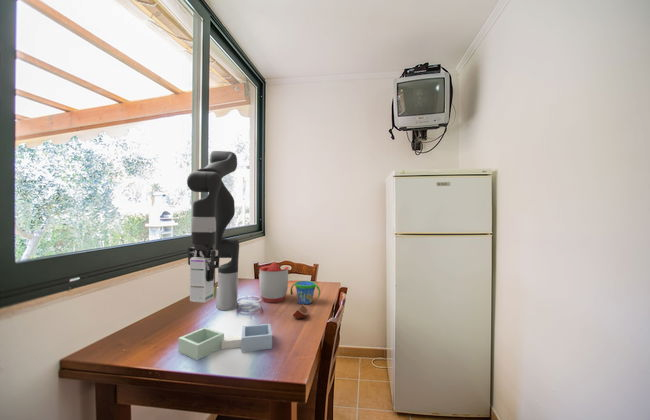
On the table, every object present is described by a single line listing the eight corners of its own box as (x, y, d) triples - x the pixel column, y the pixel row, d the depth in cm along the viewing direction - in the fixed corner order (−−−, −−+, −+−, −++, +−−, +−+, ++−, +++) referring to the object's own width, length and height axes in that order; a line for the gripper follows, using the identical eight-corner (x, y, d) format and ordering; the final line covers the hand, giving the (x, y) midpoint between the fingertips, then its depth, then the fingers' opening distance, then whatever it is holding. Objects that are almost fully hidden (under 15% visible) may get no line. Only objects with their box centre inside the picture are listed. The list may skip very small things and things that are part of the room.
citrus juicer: (296, 297, 148) (296, 261, 149) (274, 306, 134) (274, 266, 134) (275, 292, 157) (275, 258, 157) (252, 300, 142) (252, 262, 142)
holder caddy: (172, 363, 82) (172, 348, 82) (183, 341, 96) (183, 328, 96) (272, 351, 90) (272, 337, 90) (269, 333, 103) (270, 321, 104)
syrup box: (204, 303, 88) (205, 258, 88) (188, 301, 89) (189, 257, 89) (215, 297, 93) (216, 255, 93) (200, 296, 94) (201, 254, 95)
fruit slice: (296, 313, 124) (296, 302, 124) (310, 315, 123) (310, 304, 123) (290, 320, 116) (290, 309, 116) (305, 322, 115) (305, 310, 115)
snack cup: (322, 301, 143) (322, 281, 143) (315, 307, 133) (316, 286, 133) (295, 298, 147) (295, 279, 148) (286, 304, 137) (287, 284, 138)
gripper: (180, 230, 92) (179, 278, 92) (207, 232, 85) (206, 285, 84) (200, 229, 98) (199, 274, 98) (227, 230, 91) (226, 280, 91)
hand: (202, 279), depth 91 cm, fingers closed on syrup box, 6 cm apart
